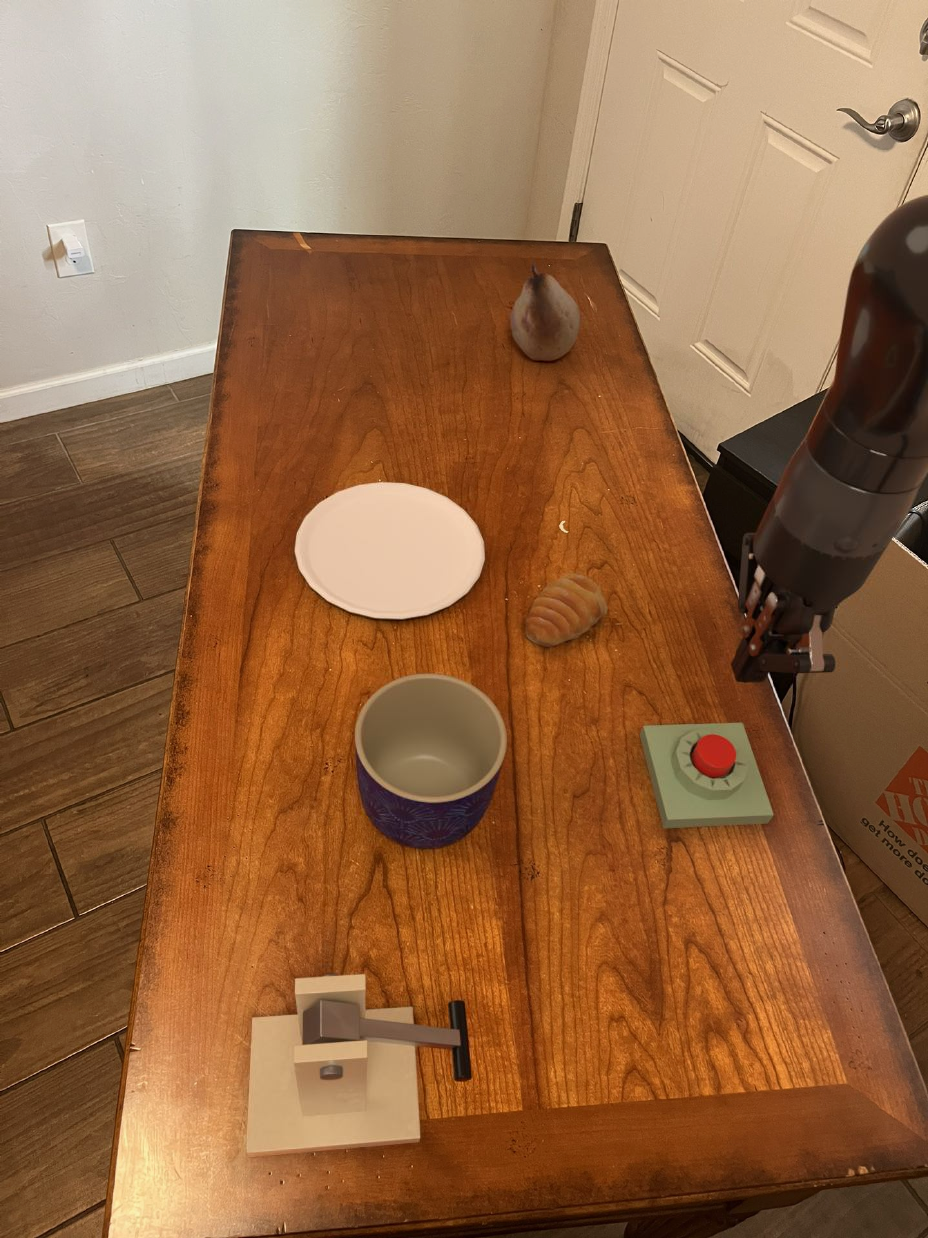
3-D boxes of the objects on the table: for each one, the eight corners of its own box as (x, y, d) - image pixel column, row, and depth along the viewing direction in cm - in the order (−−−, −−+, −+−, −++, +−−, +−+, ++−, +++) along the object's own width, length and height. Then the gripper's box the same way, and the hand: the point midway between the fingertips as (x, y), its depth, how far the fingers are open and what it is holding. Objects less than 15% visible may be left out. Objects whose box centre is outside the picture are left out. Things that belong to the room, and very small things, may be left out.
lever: (453, 1009, 67) (473, 998, 65) (459, 1085, 64) (480, 1075, 62) (302, 989, 61) (320, 976, 59) (301, 1072, 58) (320, 1061, 56)
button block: (767, 824, 86) (781, 805, 84) (662, 828, 85) (672, 809, 82) (737, 731, 93) (748, 711, 90) (639, 735, 91) (647, 714, 89)
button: (735, 777, 85) (741, 767, 84) (697, 778, 85) (702, 768, 84) (724, 743, 88) (730, 733, 86) (687, 744, 87) (692, 734, 86)
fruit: (503, 328, 134) (514, 249, 125) (567, 329, 135) (583, 251, 126) (512, 371, 128) (524, 291, 119) (580, 372, 129) (597, 293, 120)
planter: (404, 891, 79) (410, 830, 71) (328, 782, 85) (325, 714, 77) (519, 818, 84) (538, 753, 76) (440, 720, 90) (449, 650, 82)
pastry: (558, 665, 96) (565, 641, 93) (506, 629, 98) (511, 605, 95) (609, 614, 101) (616, 590, 98) (558, 582, 103) (564, 557, 101)
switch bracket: (412, 1012, 73) (422, 939, 61) (419, 1142, 67) (433, 1088, 56) (253, 1023, 71) (235, 950, 60) (247, 1157, 65) (225, 1105, 54)
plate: (254, 559, 101) (253, 551, 100) (377, 464, 113) (377, 456, 112) (406, 658, 95) (406, 650, 94) (520, 545, 106) (521, 538, 105)
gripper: (935, 588, 55) (821, 746, 68) (853, 440, 63) (765, 606, 76) (814, 591, 54) (722, 750, 67) (746, 439, 62) (676, 608, 75)
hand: (745, 673), depth 72 cm, fingers closed
